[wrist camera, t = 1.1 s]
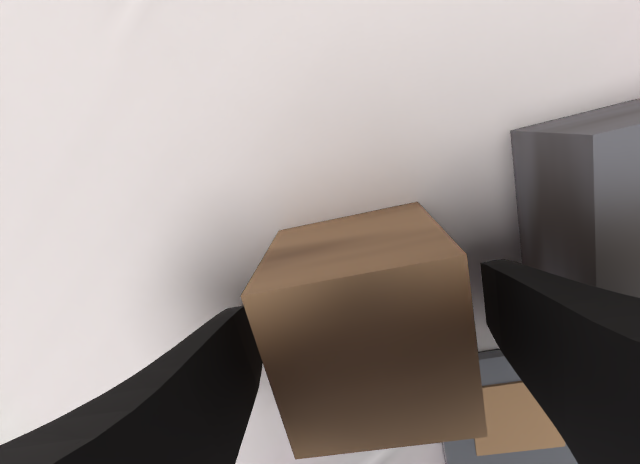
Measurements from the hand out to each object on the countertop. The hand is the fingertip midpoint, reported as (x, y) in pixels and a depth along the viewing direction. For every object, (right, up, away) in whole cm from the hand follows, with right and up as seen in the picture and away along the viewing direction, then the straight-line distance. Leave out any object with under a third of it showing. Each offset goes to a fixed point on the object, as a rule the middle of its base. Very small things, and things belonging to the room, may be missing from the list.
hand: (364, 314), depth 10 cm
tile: (+7, -5, +4) cm, 9 cm away
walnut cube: (0, +1, +3) cm, 3 cm away
